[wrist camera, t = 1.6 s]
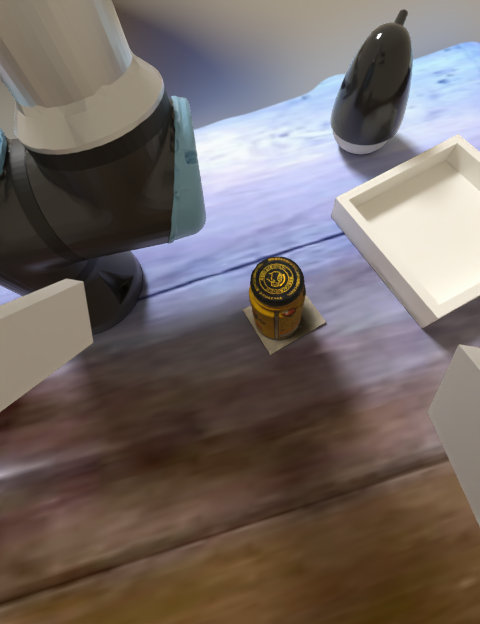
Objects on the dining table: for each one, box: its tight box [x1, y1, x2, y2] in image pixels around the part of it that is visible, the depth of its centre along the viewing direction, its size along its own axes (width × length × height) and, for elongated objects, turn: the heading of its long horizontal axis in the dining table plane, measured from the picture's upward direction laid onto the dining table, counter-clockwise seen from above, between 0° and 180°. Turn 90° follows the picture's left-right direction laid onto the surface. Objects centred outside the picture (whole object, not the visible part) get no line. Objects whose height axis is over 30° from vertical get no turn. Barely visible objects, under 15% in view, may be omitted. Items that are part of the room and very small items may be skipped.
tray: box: [331, 134, 480, 328], centre depth 40 cm, size 20×20×4 cm
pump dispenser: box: [331, 10, 413, 154], centre depth 42 cm, size 10×10×15 cm
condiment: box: [243, 257, 326, 355], centre depth 34 cm, size 7×8×12 cm
